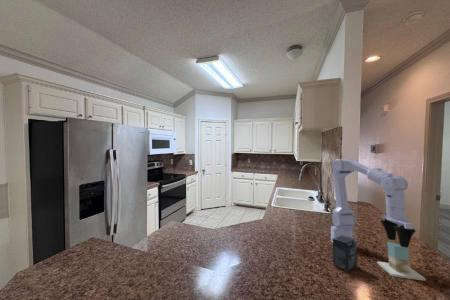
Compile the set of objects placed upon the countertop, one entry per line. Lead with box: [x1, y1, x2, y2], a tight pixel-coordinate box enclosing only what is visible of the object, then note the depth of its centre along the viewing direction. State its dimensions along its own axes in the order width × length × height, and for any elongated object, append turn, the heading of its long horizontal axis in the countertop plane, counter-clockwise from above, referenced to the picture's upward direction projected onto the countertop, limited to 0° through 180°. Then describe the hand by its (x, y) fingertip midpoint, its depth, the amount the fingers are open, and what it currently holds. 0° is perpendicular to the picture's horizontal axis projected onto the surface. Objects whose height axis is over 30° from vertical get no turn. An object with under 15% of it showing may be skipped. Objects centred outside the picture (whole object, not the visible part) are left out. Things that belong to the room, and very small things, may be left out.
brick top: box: [387, 241, 410, 260], centre depth 74 cm, size 4×4×4 cm
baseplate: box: [376, 261, 426, 282], centre depth 73 cm, size 10×10×1 cm
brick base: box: [387, 253, 411, 273], centre depth 73 cm, size 4×4×4 cm
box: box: [332, 235, 358, 272], centre depth 76 cm, size 8×6×11 cm
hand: (397, 243), depth 74 cm, fingers open, 7 cm apart
